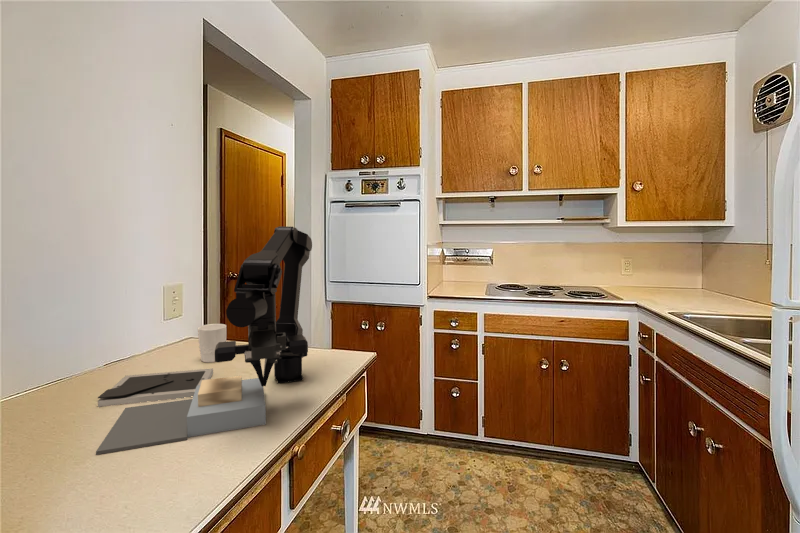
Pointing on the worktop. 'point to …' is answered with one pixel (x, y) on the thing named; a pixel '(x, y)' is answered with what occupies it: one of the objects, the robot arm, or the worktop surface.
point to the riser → (228, 411)
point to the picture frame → (154, 387)
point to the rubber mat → (147, 426)
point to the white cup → (210, 340)
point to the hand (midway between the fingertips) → (263, 385)
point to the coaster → (220, 391)
